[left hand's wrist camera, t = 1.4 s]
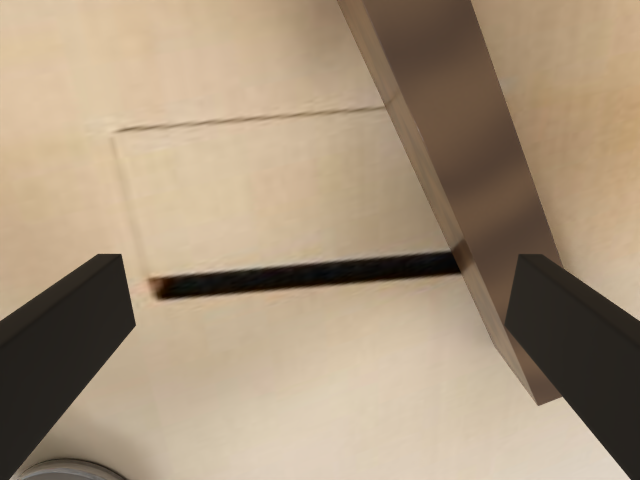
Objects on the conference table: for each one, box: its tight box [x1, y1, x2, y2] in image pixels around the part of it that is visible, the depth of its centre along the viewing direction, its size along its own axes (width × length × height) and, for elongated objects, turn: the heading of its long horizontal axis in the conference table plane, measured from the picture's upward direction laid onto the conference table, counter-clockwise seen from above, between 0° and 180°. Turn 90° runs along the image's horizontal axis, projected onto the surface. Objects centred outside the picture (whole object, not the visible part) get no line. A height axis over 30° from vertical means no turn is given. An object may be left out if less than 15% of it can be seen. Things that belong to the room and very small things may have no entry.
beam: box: [337, 0, 563, 406], centre depth 25 cm, size 58×5×8 cm, turn 29°
